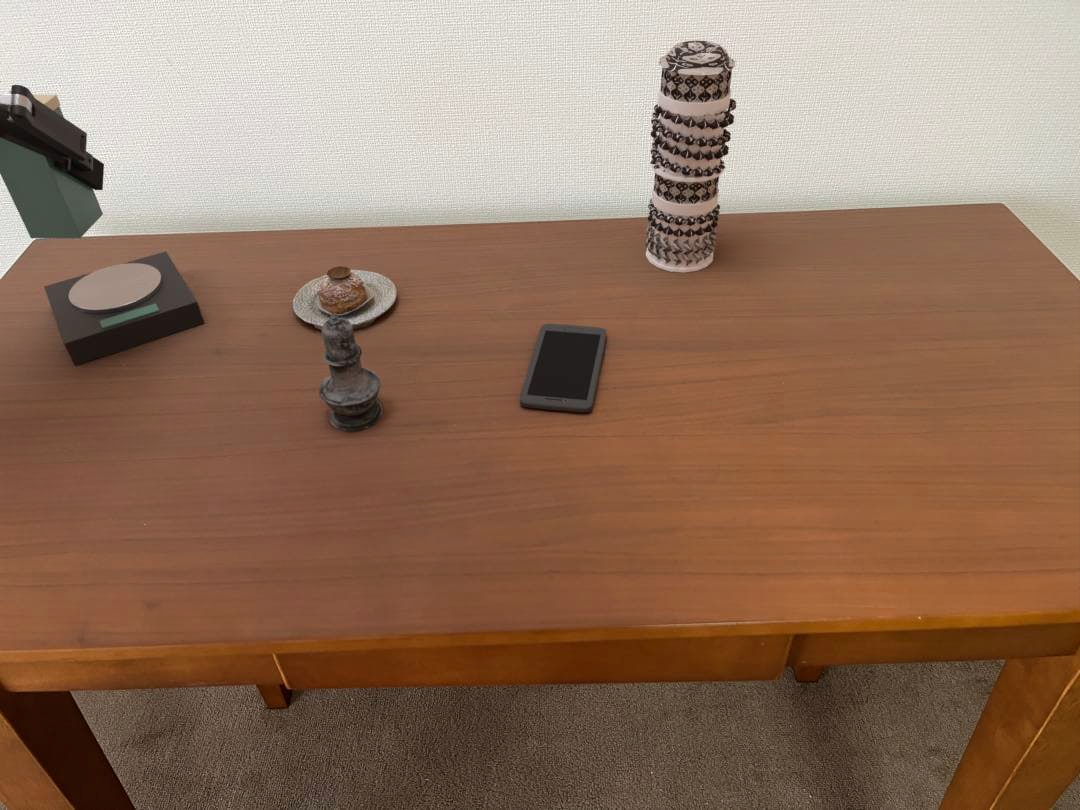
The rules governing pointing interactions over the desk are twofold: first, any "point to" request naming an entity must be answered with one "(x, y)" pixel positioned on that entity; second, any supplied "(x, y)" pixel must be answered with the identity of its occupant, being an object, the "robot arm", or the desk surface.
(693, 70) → the decorative candle
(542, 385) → the cell phone
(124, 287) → the scale pan
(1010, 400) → the desk surface
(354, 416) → the dark grey piece
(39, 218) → the spice tin
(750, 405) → the desk surface
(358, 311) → the pastry
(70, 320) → the scale
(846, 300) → the desk surface
